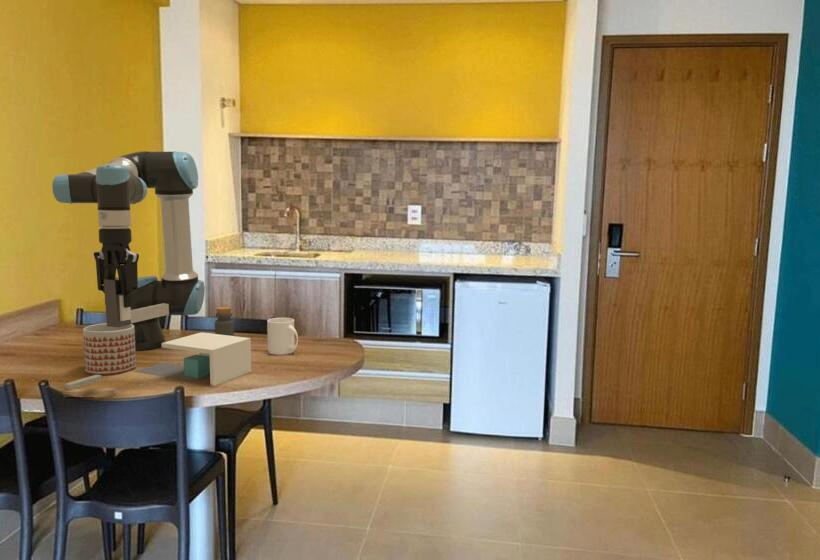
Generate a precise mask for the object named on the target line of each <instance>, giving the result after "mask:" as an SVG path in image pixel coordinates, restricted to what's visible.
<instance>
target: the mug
mask: <svg viewBox="0 0 820 560" xmlns="http://www.w3.org/2000/svg"><path fill="white" fill-rule="evenodd" d="M266 323H267V326H266V327H267V328H266V329H267V330H266V331H267V332H266V333H267V351H268V353H269V354H270V355H273V356H274V355H276V356H283V355H284V356H285V355H291V354H292V353H294V352H295V350H296V348H297V347H298V344H299V343H298V342H299V336H298V332H297V330H296V328H295V319H294V318H291V317H275V318H274V317H273V318H269V319H267V322H266ZM295 337H296V342H295Z"/></svg>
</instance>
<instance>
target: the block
mask: <svg viewBox="0 0 820 560" xmlns="http://www.w3.org/2000/svg"><path fill="white" fill-rule="evenodd" d="M183 366H184V376H190V377H196V378H199V377H202V376H205V375H207V374H210V356H203V355H199V354H193V355H190V356H187V357H184V358H183Z"/></svg>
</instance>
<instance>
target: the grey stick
mask: <svg viewBox="0 0 820 560" xmlns="http://www.w3.org/2000/svg"><path fill="white" fill-rule="evenodd" d="M102 376H103V375H91V376H88V377H84V378H80V379H76V380H74V381H70V382H67V383H64V389H65V390H66V389H77V388H79V387H82V386H85V385H89V384H92V383H96V382H99V381H102V380H103V379H102V378H103V377H102Z"/></svg>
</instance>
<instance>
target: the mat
mask: <svg viewBox="0 0 820 560" xmlns="http://www.w3.org/2000/svg"><path fill="white" fill-rule="evenodd" d="M133 372H134V373H140V374H146V375H153V376H159V377H163V378H164V377H166V378H172V379H177V380H185V381H191V382H195V381H197V380H200V379H203V378H206V377H210V374H207V375H205V376H202V377H199V378H196V377H190V376H184V365H182V364H181V365H179V364H173V363H165V362H161V363H158V364H157V363H156V364H155V365H150V366H147V367H144V368H140V369H138V370H134V371H133Z"/></svg>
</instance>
